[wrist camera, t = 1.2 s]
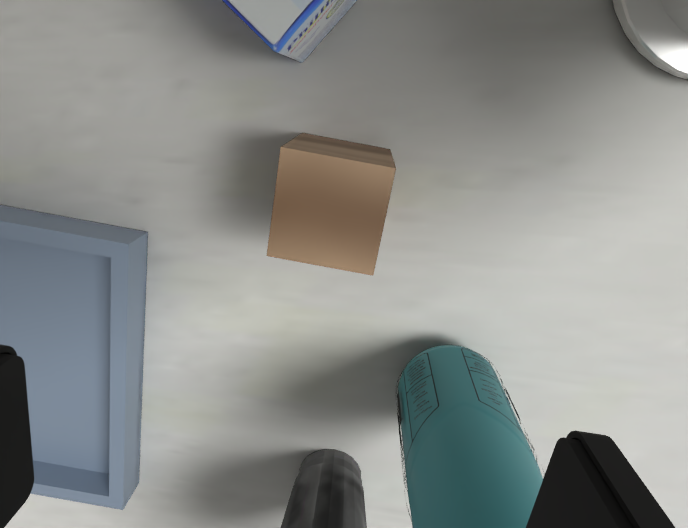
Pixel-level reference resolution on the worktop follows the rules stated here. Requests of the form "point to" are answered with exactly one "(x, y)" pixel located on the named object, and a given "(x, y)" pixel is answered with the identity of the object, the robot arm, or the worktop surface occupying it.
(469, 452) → the beverage bottle
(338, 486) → the beverage cup
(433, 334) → the worktop surface
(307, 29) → the medicine box
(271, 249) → the walnut block
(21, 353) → the tray
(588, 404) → the worktop surface
